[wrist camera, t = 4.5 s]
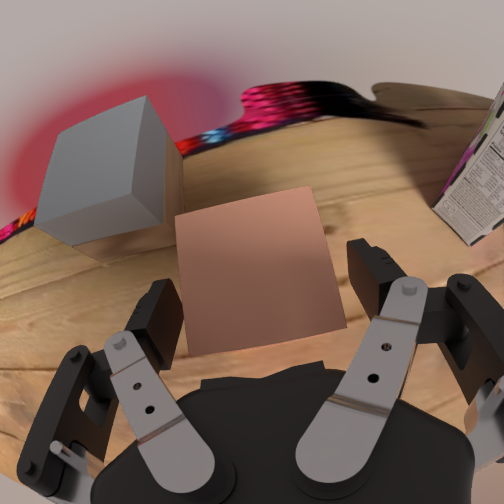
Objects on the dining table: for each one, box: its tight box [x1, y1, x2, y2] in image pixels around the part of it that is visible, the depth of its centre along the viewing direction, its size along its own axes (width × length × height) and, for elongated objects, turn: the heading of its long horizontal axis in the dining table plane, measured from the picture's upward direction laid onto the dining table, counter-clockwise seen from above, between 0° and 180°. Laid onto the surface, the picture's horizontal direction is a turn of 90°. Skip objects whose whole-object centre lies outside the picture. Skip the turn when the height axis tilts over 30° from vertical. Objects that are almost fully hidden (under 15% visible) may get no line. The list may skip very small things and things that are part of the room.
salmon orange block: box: [175, 185, 347, 356], centre depth 15 cm, size 6×6×8 cm
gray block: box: [34, 95, 167, 246], centre depth 17 cm, size 8×8×4 cm
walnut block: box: [72, 132, 185, 262], centre depth 21 cm, size 8×8×4 cm
